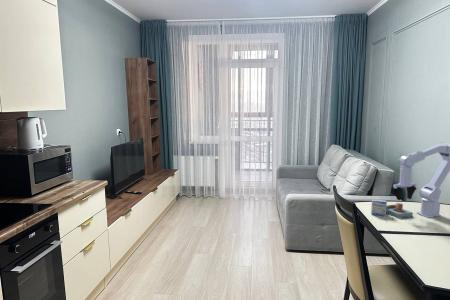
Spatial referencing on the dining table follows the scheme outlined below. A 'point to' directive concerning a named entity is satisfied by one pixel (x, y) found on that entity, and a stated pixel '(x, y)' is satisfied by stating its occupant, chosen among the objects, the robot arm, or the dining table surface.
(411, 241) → the dining table surface
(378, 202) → the medicine box
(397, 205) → the brown rounded peg
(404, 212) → the socket block
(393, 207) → the walnut wall
